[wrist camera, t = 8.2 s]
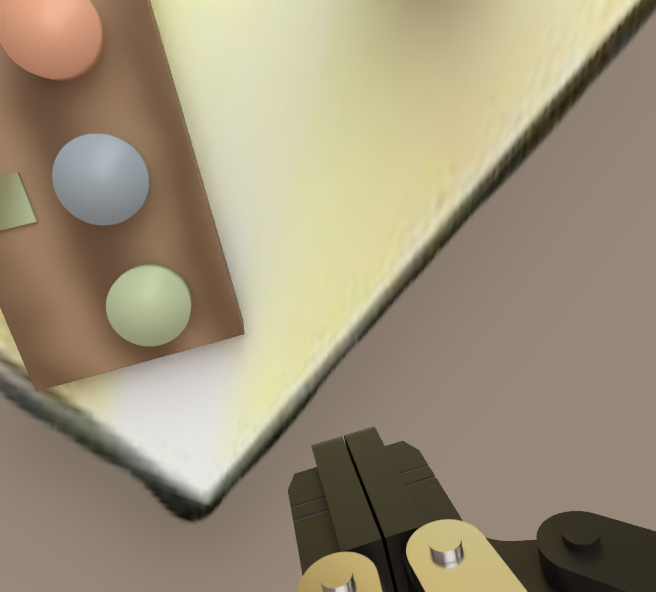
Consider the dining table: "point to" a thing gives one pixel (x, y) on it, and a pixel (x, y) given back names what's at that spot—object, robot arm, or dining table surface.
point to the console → (96, 240)
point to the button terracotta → (52, 36)
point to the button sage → (149, 304)
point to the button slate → (101, 179)
